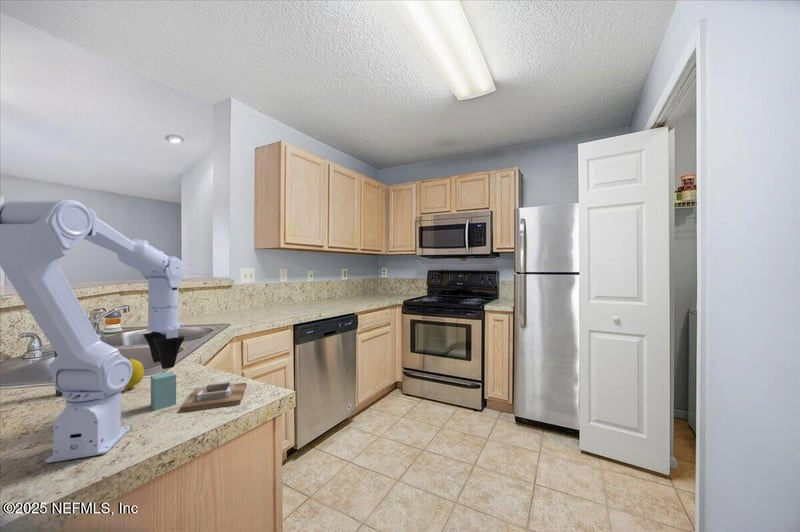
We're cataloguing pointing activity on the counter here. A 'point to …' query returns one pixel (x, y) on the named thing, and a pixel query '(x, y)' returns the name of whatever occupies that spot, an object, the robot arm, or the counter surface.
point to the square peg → (163, 390)
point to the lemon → (135, 373)
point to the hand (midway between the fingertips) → (163, 364)
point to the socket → (214, 396)
